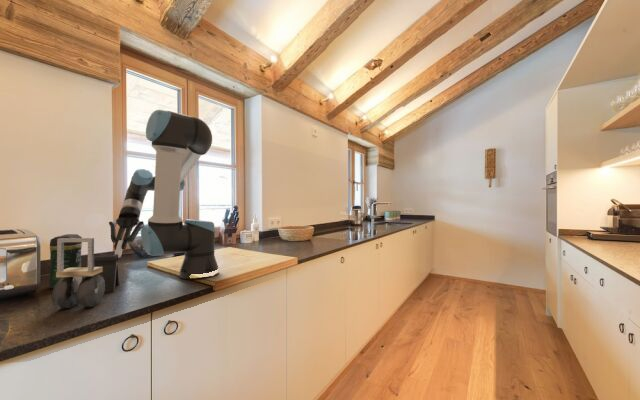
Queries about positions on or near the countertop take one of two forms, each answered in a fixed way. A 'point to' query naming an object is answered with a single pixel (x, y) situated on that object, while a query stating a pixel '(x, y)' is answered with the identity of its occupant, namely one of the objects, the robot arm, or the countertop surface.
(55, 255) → the coffee jar
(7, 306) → the countertop surface
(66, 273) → the trolley deck
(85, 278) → the trolley
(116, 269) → the dark grey bin
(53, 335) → the countertop surface
